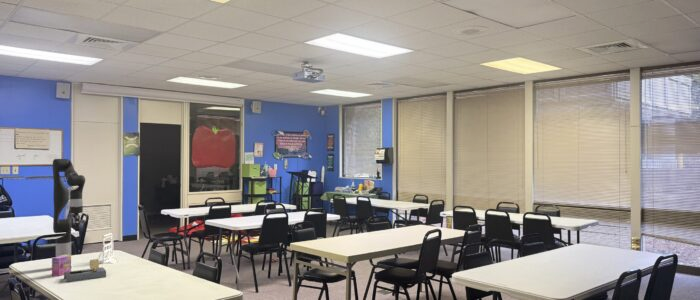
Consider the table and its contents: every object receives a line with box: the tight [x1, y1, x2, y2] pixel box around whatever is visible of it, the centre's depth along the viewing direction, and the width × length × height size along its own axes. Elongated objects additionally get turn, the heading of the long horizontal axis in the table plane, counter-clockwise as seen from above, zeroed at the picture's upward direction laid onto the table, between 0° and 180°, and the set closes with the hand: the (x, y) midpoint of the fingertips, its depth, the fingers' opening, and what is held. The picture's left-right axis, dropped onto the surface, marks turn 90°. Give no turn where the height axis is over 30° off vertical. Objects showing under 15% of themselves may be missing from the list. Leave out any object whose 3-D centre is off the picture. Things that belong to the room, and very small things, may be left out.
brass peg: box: [89, 258, 100, 271], centre depth 310 cm, size 5×5×10 cm
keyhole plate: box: [63, 267, 107, 283], centre depth 307 cm, size 22×12×4 cm, turn 126°
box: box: [51, 254, 72, 277], centre depth 317 cm, size 10×6×12 cm, turn 168°
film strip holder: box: [97, 232, 123, 265], centre depth 355 cm, size 14×14×20 cm
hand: (76, 230), depth 319 cm, fingers open, 8 cm apart
